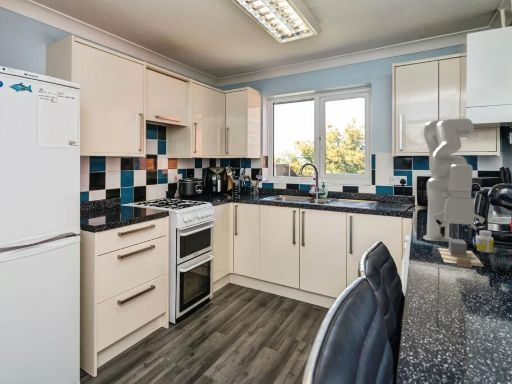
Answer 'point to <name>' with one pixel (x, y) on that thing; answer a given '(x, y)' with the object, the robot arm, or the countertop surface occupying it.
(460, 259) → the walnut offcut
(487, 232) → the supplement bottle
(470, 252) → the birch board
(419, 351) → the countertop surface
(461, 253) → the block
